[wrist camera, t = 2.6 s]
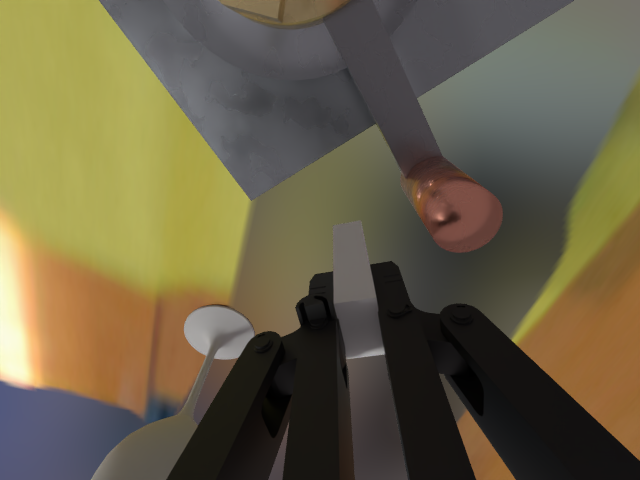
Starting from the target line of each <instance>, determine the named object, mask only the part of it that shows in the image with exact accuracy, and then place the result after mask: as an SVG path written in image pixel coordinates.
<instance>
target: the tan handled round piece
mask: <svg viewBox="0 0 640 480" xmlns="http://www.w3.org/2000/svg"><path fill="white" fill-rule="evenodd" d="M218 1H220V2H221V4H222V5H224V6H226V7H227V8H229V9H231V10H233V11H235V12H237V13H238V14H240V15H241V16H243V17H245V18H247V19H249V20H251V21H253V22H255V23H258V24H261V25H264V26H267V27H271V28H276V29H287V30H295V29H303V28H309V27H312V26H316V25H319V24H322V23H324V24H325V26H326V28H327V30H328V32H329V34H330V36H331V38H332V40H333V42H334V44H335V45H336V47H337V49H338V51H339V53H340V55H341V57H342V59H343V61H344V63H345V65H346V67H347V69H348V71H349V73H350V74H351V76H352V78H353V80H354V82H355V84H356V86H357V88H358V90H359V92H360V94H361V96H362V98H363V100H364V102H365V103H366V105H367V107H368V109H369V111H370V113H371V115H372V117H373V119H374V121H375V123H376V125H377V127H378V129H379V130H380V132H381V134H382V136H383V138H384V140H385V142H386V144H387V146H388V148H389V150H390V152H391V154H392V156H393V157H394V159H395V161H396V163H397V165H398V167H399V169H400V171H401V180H400V181H401V186H402V189H403V190H404V192H405V194H406V195H407V197H408V199H409V200H410V202H411V203H412V205H413V207H414V208H415V210H416V212H417V213H418V215H419V216H420V218H421V220H422V221H423V223H424V224H425V226H426V228H427V229H428V231H429V233H430V234H431V236H432V237H433V239H434V241H435V242H436V243H437V244H438V245H439V246H440V247H442V248H443V249H445V250H447V251H451V252H458V253H461V252H469V251H472V250H475V249H478V248H480V247H482V246H483V245H485V244H486V243H488V242H489V241H490V240H491V239H492V238H493V237H494V236H495V234H496V233H497V231H498V230H499V228H500V226H501V223H502V218H503V211H502V207H501V204H500V202H499V200H498V199H497V198H496V197H495V196H494V195H493V194H492V193H490V192H489V191H488V190H486V189H485V188H484V187H482V186H481V185H480V184H479V183H477V182H476V181H475V180H473V179H472V178H471V177H469V176H468V175H467V174H465V173H464V172H463V171H461V170H460V169H459V168H457V167H456V166H455V165H454V164H452V163H451V162H449V161H448V160H447V159H446V158H444V157H443V156H442V154H441V152H440V149H439V147H438V145H437V143H436V140H435V138H434V136H433V134H432V132H431V129H430V127H429V125H428V123H427V121H426V118H425V116H424V114H423V112H422V109H421V107H420V105H419V103H418V100H417V98H416V96H415V94H414V91H413V89H412V87H411V85H410V82H409V80H408V78H407V76H406V74H405V71H404V69H403V67H402V65H401V62H400V60H399V58H398V56H397V54H396V51H395V49H394V47H393V45H392V42H391V40H390V38H389V36H388V33H387V31H386V29H385V27H384V25H383V22H382V20H381V18H380V16H379V13H378V11H377V9H376V7H375V4H374V2H373V0H218Z"/></svg>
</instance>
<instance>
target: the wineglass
mask: <svg viewBox="0 0 640 480" xmlns="http://www.w3.org/2000/svg"><path fill="white" fill-rule="evenodd" d="M184 332H185V336H186V338H187V340H188V342H189V343H190V344H191V345H192V347H193V348H195V349H196V350H197V351H199V352H200V353H202V354H204V355H206V358H205V360H204V363H203V365H202V367H201V370H200V372H199V374H198V377H197V379H196V381H195V384H194V386H193V388H192V391H191V393H190V395H189V398H188V400H187V402H186V404H185V405H184V407H183V409H182V410H181V411H180V412H179V413H178V414H177V415H176V416H172V417H168V418H165V419H162V420H159V421H156V422H153V423H150V424H148V425H146V426H144V427H142V428H140V429H139V430H137V431H135V432H133V433H131V434H130V435H128V436H127V437H126V438H125V439H123V440H122V441H121V442H120V443H119V444H118V445H117V446H116V447H115V448H114V449H113V450H112V451H111V452H110V453H109V454H108V455H107V456H106V458H105V459H104V461H103V462H102V463H101V465H100V466H99V468H98V469H97V471H96V472H95V474H94V476H93V477H92V479H91V480H166V479H167V477H168V475H169V474H170V472H171V470H172V469H173V467H174V465H175V464H176V462H177V460H178V459H179V457H180V455H181V454H182V452H183V450H184V449H185V447H186V445H187V444H188V442H189V440H190V439H191V437H192V435H193V433H194V432H195V430H196V428H197V427H198V425H197V424H196V423H195V421H194V418H193V413H194V408H195V404H196V402H197V399H198V397H199V394H200V392H201V389H202V386H203V384H204V382H205V379H206V377H207V374H208V371H209V369H210V366H211V364H212V361H213V359H214V358H216V359H234V358H238V357H239V356H240V355H241V353H242V351H243V350H244V348H245V346H246V345H247V343H248V342H249V341H250V340H251V338H253V337H254V336H255V331H254V328H253V326H252V324H251V323H250V321H249V320H248V319H247V318H246V317H245V316H244V315H243V314H242V313H240V312H238V311H236V310H234V309H232V308H229V307H226V306H220V305H207V306H204V307H200V308H198V309H196V310H194V311H193V312H192V313H191V314H190V315H189V316H188V318H187V320H186V322H185V325H184Z"/></svg>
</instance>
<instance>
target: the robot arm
mask: <svg viewBox="0 0 640 480" xmlns="http://www.w3.org/2000/svg"><path fill="white" fill-rule="evenodd" d="M295 308H296V311H297V315H298V318H299V321H300V324H301V327H300V328H299V329H298V330H296V331H295V332H293V333H291V334H288V335H286V336H284V337H280V335H279V334H277V333H276V332H272V331H268V332H262V333H260V334H257V335H256V336H254V337H253V338H251V340H250V341H249V342H248V343H247V345H246V346H245V348H244V350H243V351H242V353H241V355H240V356H239V358H238V360H237V361H236V363H235V365H234V366H233V368H232V370H231V371H230V373H229V375H228V376H227V378H226V380H225V382H224V383H223V385H222V387H221V388H220V390H219V392H218V393H217V395H216V397H215V398H214V400H213V402H212V403H211V405H210V407H209V408H208V410H207V412H206V413H205V415H204V417H203V419H202V420H201V422H200V424H199V425H198V427H197V428H196V430H195V432H194V433H193V435H192V437H191V439H190V440H189V442H188V444H187V445H186V447H185V449H184V450H183V452H182V454H181V455H180V457H179V459H178V460H177V462H176V464H175V465H174V467H173V469H172V470H171V472H170V474H169V475H168V477H167V479H166V480H268V478H269V476H270V473H271V470H272V467H273V464H274V461H275V459H276V456H277V453H278V450H279V448H280V445H281V442H282V439H283V436H284V434H285V431H286V428H287V425H288V422H289V429H288V438H287V446H286V455H285V463H284V471H283V480H355V475H354V459H353V443H352V427H351V426H352V425H351V409H350V392H349V377H348V376H349V375H348V368H347V364H346V357H347V359H351V358H359V357H366V356H374V355H383V354H385V358H386V364H387V370H388V376H389V380H390V386H391V391H392V396H393V402H394V407H395V413H396V418H397V424H398V429H399V434H400V440H401V444H402V451H403V456H404V461H405V467H406V472H407V477H408V480H476V478H475V475H474V472H473V470H472V467H471V464H470V461H469V458H468V455H467V453H466V450H465V447H464V444H463V441H462V438H461V436H460V433H459V430H458V427H457V424H456V421H455V419H454V416H453V413H452V411H451V407H450V404H449V402H448V399H447V396H446V393H445V390H444V387H443V385H442V382H441V379H440V376H439V373H440V374H444V376H445V378H446V379H447V381H448V382H449V384H450V385H451V387H452V388H453V389H454V391H455V392H456V394H457V395H458V397H459V398H460V400H461V401H462V403H463V404H464V405H465V407H466V408H467V410H468V411H469V413H470V414H471V415H472V417H473V418H474V420H475V421H476V423H477V424H478V426H479V427H480V428H481V430H482V431H483V433H484V434H485V436H486V437H487V439H488V440H489V441H490V443H491V444H492V446H493V447H494V449H495V450H496V452H497V453H498V454H499V456H500V457H501V459H502V460H503V462H504V463H505V464H506V466H507V467H508V469H509V470H510V472H511V473H512V475H513V476H514V477H515V479H516V480H640V461H639V460H638V459H637V458H636V457H635V456H634V455H633V454H632V453H631V452H630V451H629V450H627V449H626V448H625V447H624V446H623V445H622V444H621V443H620V442H619V441H618V440H617V439H616V438H615V437H614V436H613V435H611V434H610V433H609V432H608V431H607V430H606V429H605V428H604V427H603V426H602V425H601V424H600V423H599V422H598V421H597V420H596V419H594V418H593V417H592V416H591V415H590V414H589V413H588V412H587V411H586V410H585V409H584V408H583V407H582V406H581V405H580V404H578V403H577V402H576V401H575V400H574V399H573V398H572V397H571V396H570V395H569V394H568V393H567V392H566V391H565V390H564V389H563V388H561V387H560V386H559V385H558V384H557V383H556V382H555V381H554V380H553V379H552V378H551V377H550V376H549V375H548V374H547V373H545V372H544V371H543V370H542V369H541V368H540V367H539V366H538V365H537V364H536V363H535V362H534V361H533V360H532V359H531V358H529V357H528V356H527V355H526V354H525V353H524V352H523V351H522V350H521V349H520V348H519V347H518V346H517V345H516V344H515V343H514V342H512V341H511V340H510V339H509V338H508V337H507V336H506V335H505V334H504V333H503V332H502V331H501V330H500V329H499V328H497V327H496V326H495V325H494V324H493V323H492V322H491V321H490V320H489V319H488V318H487V317H486V316H485V315H484V314H483V313H482V312H480V311H479V310H478V309H476V308H475V307H473V306H470V305H467V304H452V305H449V306H447V307H445V308H444V309H443V310H442V311H441V312H440V314H434V313H427V312H423V311H420V310H418V309H416V308H415V307H414V306H413V304H412V303H411V302H410V299H409V297H408V293H407V290H406V287H405V285H404V282H403V279H402V276H401V273H400V270H399V267H398V266H397V265H396V264H394V263H393V262H392V261H390V262H383V263H377V264H371V265H370V263H369V258H368V253H367V248H366V243H365V238H364V233H363V228H362V223H361V221H355V222H350V223H343V224H338V225H333V271H332V272H326V273H320V274H315V275H314V276H313V278H312V279H311V281H310V286H309V295H308V296H306V297H304V298H302V299H301V300H300V301H299V302H298V303H297V305H296V307H295Z"/></svg>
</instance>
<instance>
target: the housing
mask: <svg viewBox="0 0 640 480" xmlns="http://www.w3.org/2000/svg"><path fill="white" fill-rule="evenodd" d="M99 1H100V2H101V4H102V5H103V6H104V8H105V9H106V10H107V12H108V13H109V14H110V16H111V17H112V18H113V20H114V21H115V22H116V24H117V25H118V26H119V27H120V29H121V30H122V31H123V33H124V34H125V35H126V37H127V38H128V39H129V41H130V42H131V43H132V45H133V46H134V47H135V49H136V50H137V51H138V52H139V54H140V55H141V56H142V58H143V59H144V60H145V62H146V63H147V64H148V66H149V67H150V68H151V70H152V71H153V72H154V74H155V75H156V76H157V77H158V79H159V80H160V81H161V83H162V84H163V85H164V87H165V88H166V89H167V91H168V92H169V93H170V95H171V96H172V97H173V99H174V100H175V101H176V102H177V104H178V105H179V106H180V108H181V109H182V110H183V112H184V113H185V114H186V116H187V117H188V118H189V120H190V121H191V122H192V124H193V125H194V126H195V127H196V129H197V130H198V131H199V133H200V134H201V135H202V137H203V138H204V139H205V141H206V142H207V143H208V145H209V146H210V147H211V149H212V150H213V151H214V152H215V154H216V155H217V156H218V158H219V159H220V160H221V162H222V163H223V164H224V166H225V167H226V168H227V170H228V171H229V172H230V174H231V175H232V176H233V177H234V179H235V180H236V181H237V183H238V184H239V185H240V187H241V188H242V189H243V191H244V192H245V193H246V195H247V196H248V197H249V199H250V200H251V201H252V200H253V199H255V198H256V197H258V196H260V195H261V194H263V193H264V192H266V191H268V190H269V189H271V188H272V187H274V186H276V185H277V184H279V183H280V182H282V181H284V180H285V179H287V178H289V177H290V176H292V175H293V174H295V173H297V172H298V171H300V170H302V169H303V168H305V167H306V166H308V165H310V164H311V163H313V162H314V161H316V160H318V159H319V158H321V157H323V156H324V155H325V154H327V153H329V152H331V151H332V150H334V149H335V148H337V147H338V146H340V145H342V144H344V143H345V142H347V141H348V140H350V139H351V138H353V137H355V136H356V135H358V134H359V133H361V132H363V131H364V130H366V129H368V128H369V127H371V126H373V125H374V124H376V123H375V121H374V119H373V117H372V115H371V113H370V111H369V109H368V107H367V105H366V103H365V102H364V100H363V98H362V96H361V94H360V92H359V90H358V88H357V86H356V84H355V82H354V80H353V78H352V76H351V74H350V73H349V71H348V69H347V67H346V65H345V63H344V61H343V59H342V57H341V55H340V53H339V51H338V49H337V47H336V45H335V44H334V42H333V40H332V38H331V36H330V34H329V32H328V30H327V28H326V26H325V24H324V23H322V24H319V25H316V26H312V27H309V28H303V29H295V30H287V29H276V28H271V27H267V26H264V25H261V24H258V23H255V22H253V21H251V20H249V19H247V18H245V17H243V16H241V15H240V14H238V13H237V12H235V11H233V10H231V9H229V8H227V7H226V6H224V5H222V4H221V2H220V1H218V0H99ZM573 1H574V0H373V2H374V4H375V7H376V9H377V11H378V13H379V16H380V18H381V20H382V22H383V25H384V27H385V29H386V31H387V33H388V36H389V38H390V40H391V42H392V45H393V47H394V49H395V51H396V54H397V56H398V58H399V60H400V62H401V65H402V67H403V69H404V71H405V74H406V76H407V78H408V80H409V82H410V85H411V87H412V89H413V91H414V94H415V96H416V98H418V97H419V96H421V95H422V94H424V93H426V92H427V91H429V90H431V89H432V88H434V87H435V86H437V85H439V84H440V83H442V82H443V81H445V80H447V79H448V78H450V77H452V76H453V75H455V74H456V73H458V72H459V71H461V70H463V69H464V68H466V67H467V66H469V65H471V64H473V63H474V62H476V61H477V60H479V59H481V58H482V57H484V56H485V55H487V54H489V53H490V52H492V51H493V50H495V49H497V48H498V47H500V46H501V45H503V44H505V43H506V42H508V41H510V40H511V39H513V38H514V37H516V36H518V35H519V34H521V33H523V32H524V31H526V30H527V29H529V28H531V27H532V26H534V25H535V24H537V23H539V22H540V21H542V20H544V19H545V18H547V17H548V16H550V15H552V14H553V13H555V12H556V11H558V10H560V9H561V8H563V7H565V6H566V5H568V4H569V3H571V2H573Z"/></svg>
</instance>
